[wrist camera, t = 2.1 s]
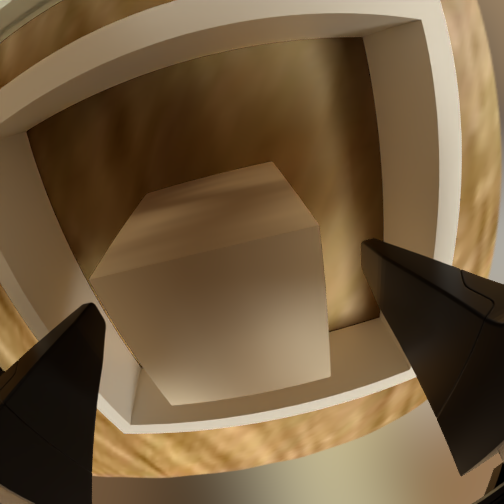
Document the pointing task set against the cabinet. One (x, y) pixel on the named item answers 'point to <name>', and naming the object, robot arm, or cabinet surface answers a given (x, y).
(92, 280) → the birch block
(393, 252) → the robot arm
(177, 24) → the white square frame
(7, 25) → the sage tray
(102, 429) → the cabinet surface
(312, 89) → the cabinet surface
